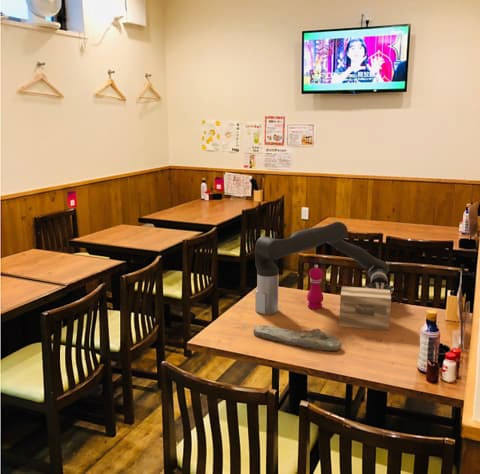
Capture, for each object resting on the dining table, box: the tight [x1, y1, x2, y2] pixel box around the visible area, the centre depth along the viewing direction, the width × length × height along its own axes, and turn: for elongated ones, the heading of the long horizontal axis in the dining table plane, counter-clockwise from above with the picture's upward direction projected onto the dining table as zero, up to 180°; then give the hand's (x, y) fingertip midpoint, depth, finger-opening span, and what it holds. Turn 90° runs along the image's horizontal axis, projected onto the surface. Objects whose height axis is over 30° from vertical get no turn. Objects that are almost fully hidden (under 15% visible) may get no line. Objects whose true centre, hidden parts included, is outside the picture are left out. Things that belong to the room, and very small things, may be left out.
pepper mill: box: [306, 264, 324, 310], centre depth 226 cm, size 7×7×20 cm
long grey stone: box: [252, 324, 342, 352], centre depth 194 cm, size 35×5×10 cm
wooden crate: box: [338, 285, 392, 331], centre depth 209 cm, size 11×20×14 cm, turn 76°
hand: (380, 294), depth 220 cm, fingers closed
